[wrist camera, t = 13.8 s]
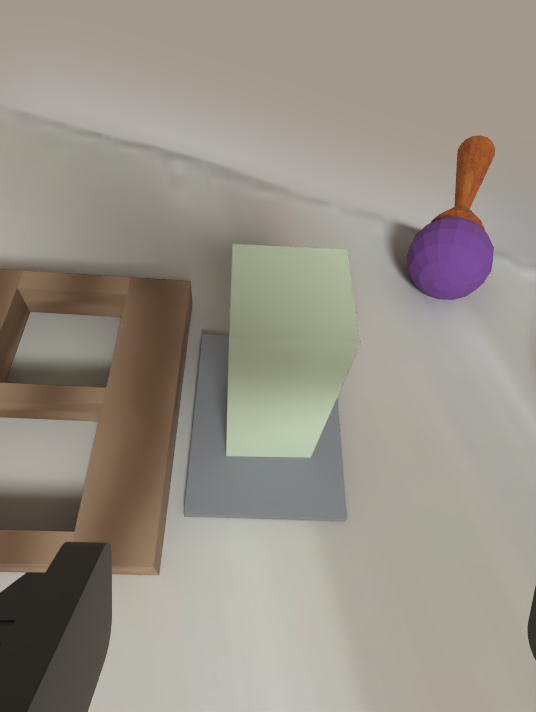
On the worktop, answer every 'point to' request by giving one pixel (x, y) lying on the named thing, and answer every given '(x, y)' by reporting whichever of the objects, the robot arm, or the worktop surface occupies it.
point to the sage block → (287, 347)
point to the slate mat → (255, 461)
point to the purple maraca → (456, 234)
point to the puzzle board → (105, 411)
